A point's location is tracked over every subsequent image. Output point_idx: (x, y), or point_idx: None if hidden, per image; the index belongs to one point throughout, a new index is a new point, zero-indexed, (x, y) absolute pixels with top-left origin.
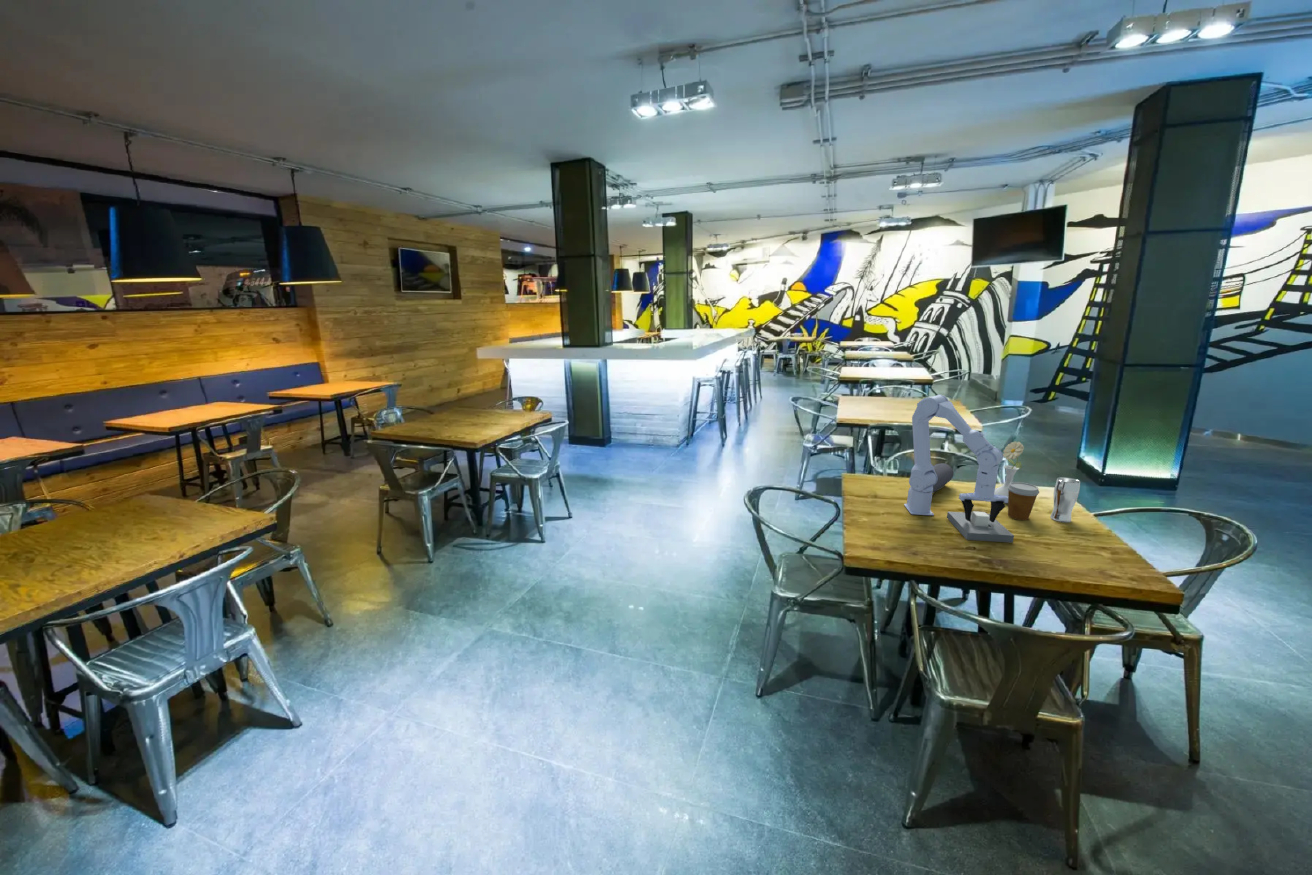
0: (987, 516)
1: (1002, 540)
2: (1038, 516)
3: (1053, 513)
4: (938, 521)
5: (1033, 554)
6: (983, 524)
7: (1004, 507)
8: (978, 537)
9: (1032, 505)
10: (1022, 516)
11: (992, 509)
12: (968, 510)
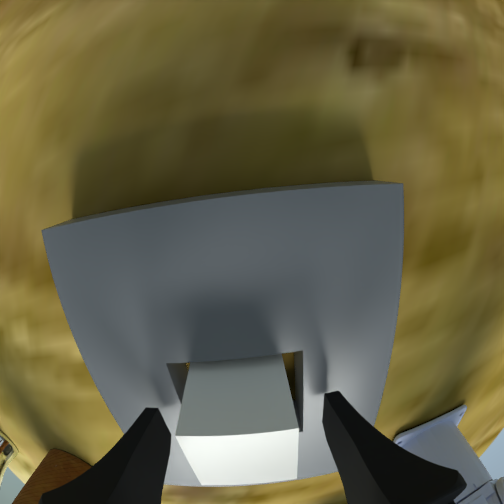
0: (196, 435)
1: (124, 209)
2: (37, 458)
3: (5, 452)
4: (409, 394)
5: (30, 86)
6: (224, 377)
7: (42, 493)
8: (304, 186)
9: (25, 484)
10: (56, 460)
11: (148, 499)
12: (395, 448)
